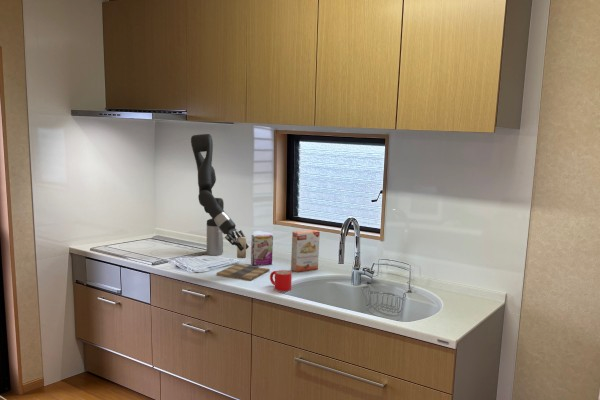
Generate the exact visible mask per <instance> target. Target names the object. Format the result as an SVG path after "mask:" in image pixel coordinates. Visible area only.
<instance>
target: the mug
mask: <svg viewBox="0 0 600 400" xmlns="http://www.w3.org/2000/svg"><path fill="white" fill-rule="evenodd" d="M292 273H293V272H292V271H290V270H287V269H286V270H285V269H281V270H273V271H271V273H270V275H269V280H270V283H271V284H272V285H273V286H274V290H276V291H279V292H288V291H291V290H292V281H293V279H292V277H293V276H292V275H293V274H292Z"/></svg>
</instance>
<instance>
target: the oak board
mask: <svg viewBox="0 0 600 400" xmlns="http://www.w3.org/2000/svg"><path fill="white" fill-rule="evenodd" d="M269 272H270V268H266V267H260V266H257V265H255V266H253V265H246V264H239V263H235V264H234V265H231V266H229V267H227V268H224V269H222V270H220V271H218V272H216V276H217V277H219V276H220V277H225V278H232V279H237V280H238V279H239V280H244V281H250V282H251V281H253V280H254V281H255V279H257V278H259V277H261V276H264V275H265V274H267V273H269Z"/></svg>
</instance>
